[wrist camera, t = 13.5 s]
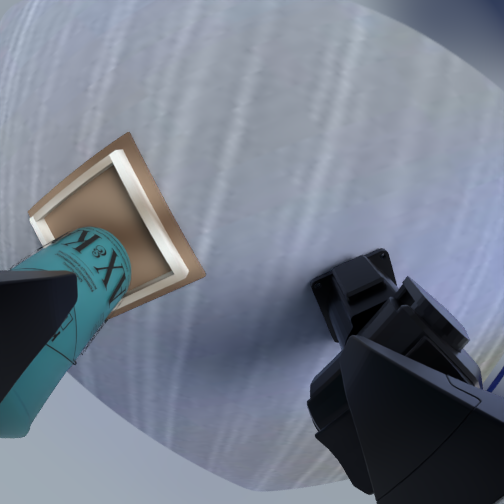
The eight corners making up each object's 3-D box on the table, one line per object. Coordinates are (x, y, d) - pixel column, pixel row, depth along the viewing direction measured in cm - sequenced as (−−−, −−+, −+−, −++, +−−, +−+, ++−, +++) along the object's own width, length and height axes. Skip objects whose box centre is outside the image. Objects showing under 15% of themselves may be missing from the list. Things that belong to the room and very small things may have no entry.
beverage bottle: (127, 306, 23) (6, 521, 4) (64, 268, 22) (-92, 430, 3) (154, 241, 21) (-30, 493, 2) (83, 201, 20) (-143, 347, 1)
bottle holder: (206, 274, 23) (202, 283, 21) (96, 322, 24) (89, 332, 23) (129, 132, 19) (120, 131, 17) (30, 210, 21) (19, 215, 19)
